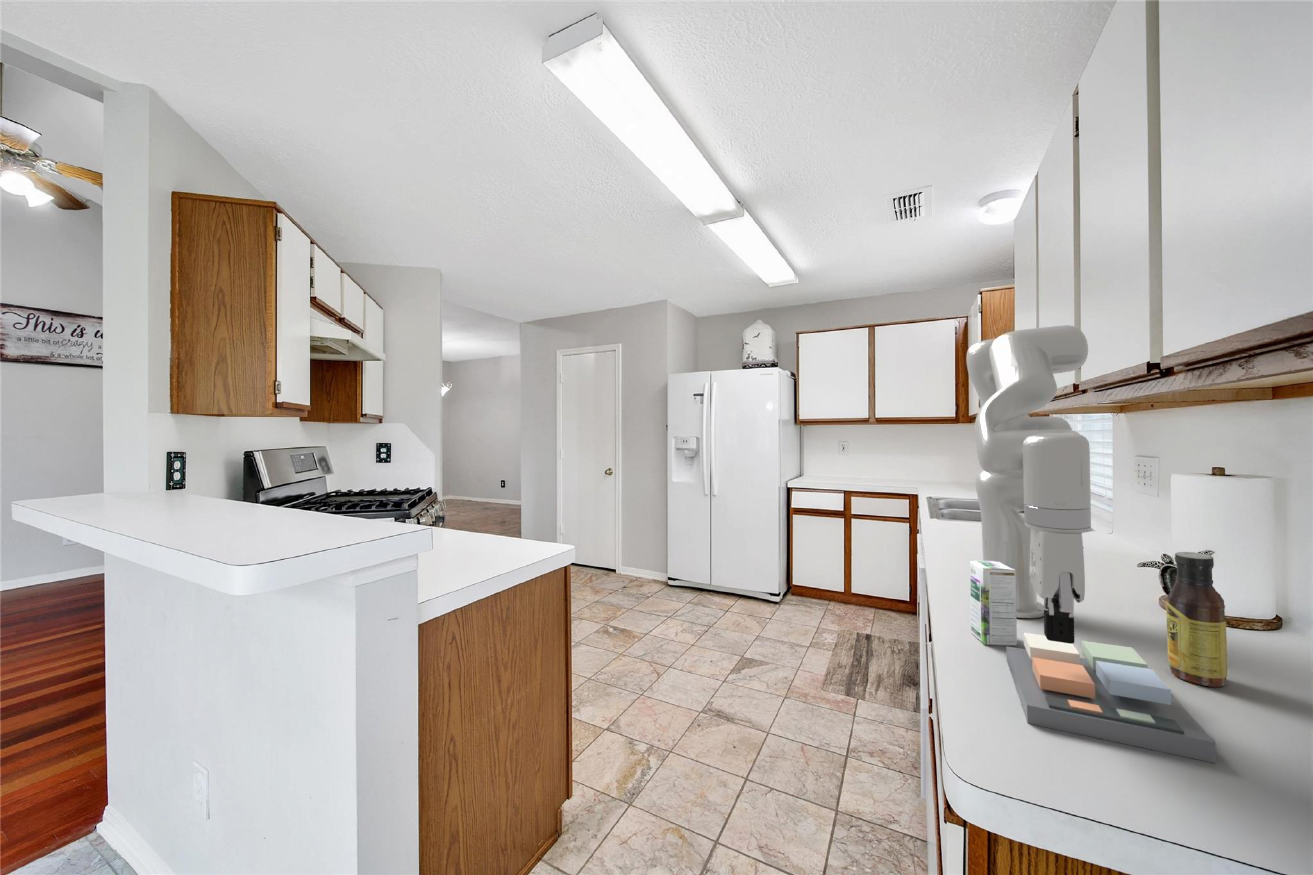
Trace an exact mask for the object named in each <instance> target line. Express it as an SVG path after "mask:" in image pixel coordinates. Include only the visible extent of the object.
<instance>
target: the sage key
mask: <svg viewBox="0 0 1313 875" xmlns="http://www.w3.org/2000/svg"><path fill="white" fill-rule="evenodd" d="M1081 654H1082V656H1083V658H1085V659H1086V660H1087V661H1088V663H1089V664H1090V666H1091V667H1092V669H1093V670H1096V661H1101V662H1108V663H1114V664H1121V665H1127V666H1134V667H1140V668H1147V669H1148V668H1149V665H1148V663H1147V662H1146V661H1145V660H1144V659H1143V658H1142V657H1141V656H1140V654H1139V653H1138V652H1137V651H1136V650H1135V649H1134V648H1133V647H1130V646H1125V645H1124V646H1123V645H1115V644H1107V643H1103V642H1102V643H1101V642H1094V641H1085V640H1081Z"/></svg>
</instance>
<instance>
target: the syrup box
mask: <svg viewBox="0 0 1313 875" xmlns="http://www.w3.org/2000/svg"><path fill="white" fill-rule="evenodd" d="M969 579H970V581H969V584H970V585H969V588H970V589H969V591H970V592H969V595H970V596H969V598H970V599H969V601H970V602H969V603H970V608H969V609H970V633H971V635H974V637H975V638H977V639H978V640H979V641H980V642H981V643H982V644H984V646H985V645H987V646H1010V647H1013V646H1014V647H1015V646H1018V640H1017V639H1018V635H1017V634H1018V632H1017V631H1018V628H1017V626H1018V625H1017V624H1018V623H1017V622H1018V621H1017V617H1016V571H1015V569H1011V568H1009V567H1008V566H1006V565H1004V564H1002V563H1000V562H995V561H983V560H971V561H969Z"/></svg>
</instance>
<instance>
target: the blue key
mask: <svg viewBox="0 0 1313 875" xmlns="http://www.w3.org/2000/svg"><path fill="white" fill-rule="evenodd" d="M1096 675H1097V676H1098V678H1099V679H1100V681H1101V682H1102V684H1103V685H1104V687H1105V688H1106V690H1107V691H1108V692H1109V694H1112V695H1117V696H1123V697H1129V698H1134V699H1140V700H1145V701H1151V702H1157V703H1162V704H1168V705H1171V694H1172V690H1171V689H1170V687H1169V686H1168V685H1167V684H1166V683H1165V682H1164V681H1163V680H1162V679H1161V677H1160V676H1159V675H1158V674H1157V673H1156V672H1155V671H1154V670H1153V669H1152V668H1149V669H1147V668H1140V667H1134V666H1127V665H1121V664H1114V663H1108V662H1101V661H1096Z"/></svg>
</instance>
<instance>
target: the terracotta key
mask: <svg viewBox="0 0 1313 875" xmlns="http://www.w3.org/2000/svg"><path fill="white" fill-rule="evenodd" d="M1032 670H1033V672H1034V675H1035V677H1036V679H1037V682H1038V684H1039V687H1040V689H1045V690H1051V691H1056V692H1062V693H1067V694H1072V695H1078V696H1083V697H1089V698H1094V699H1095V684H1094V682H1093V681H1092V679H1091V678H1090V676H1089V674H1088V673H1087V671H1086V670H1085V668H1084V667H1083V665H1078V664H1072V663H1065V662H1059V661H1053V660H1046V659H1040V658H1034V657H1032Z"/></svg>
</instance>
